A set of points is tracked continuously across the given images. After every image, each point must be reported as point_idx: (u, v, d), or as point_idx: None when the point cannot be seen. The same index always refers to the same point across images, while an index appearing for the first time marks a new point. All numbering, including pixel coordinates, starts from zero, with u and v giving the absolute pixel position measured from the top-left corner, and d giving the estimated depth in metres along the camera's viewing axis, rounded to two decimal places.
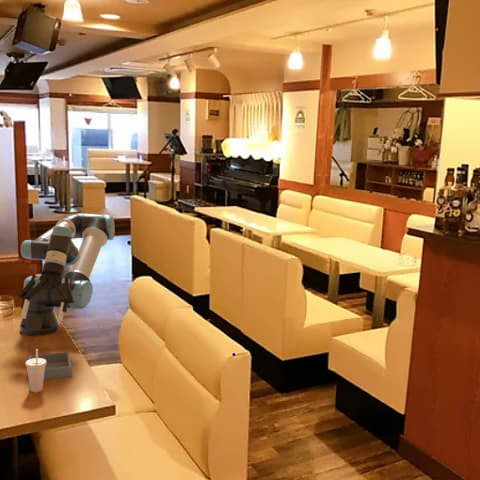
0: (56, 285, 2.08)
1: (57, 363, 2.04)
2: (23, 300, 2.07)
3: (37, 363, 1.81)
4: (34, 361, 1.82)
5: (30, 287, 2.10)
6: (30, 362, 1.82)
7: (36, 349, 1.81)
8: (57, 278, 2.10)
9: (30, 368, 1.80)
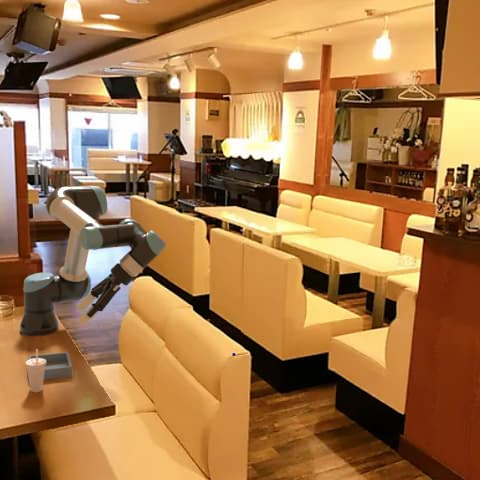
0: None
1: (57, 363, 2.04)
2: None
3: (37, 363, 1.81)
4: (34, 361, 1.82)
5: None
6: (30, 362, 1.82)
7: (36, 349, 1.81)
8: None
9: (30, 368, 1.80)
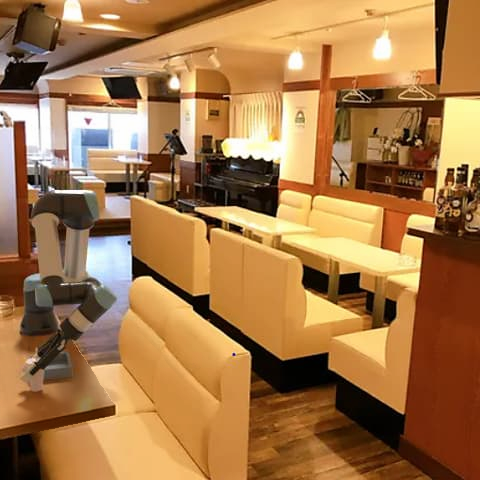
0: None
1: (57, 363, 2.04)
2: None
3: None
4: (34, 360, 1.83)
5: None
6: (30, 361, 1.82)
7: (36, 348, 1.82)
8: None
9: None
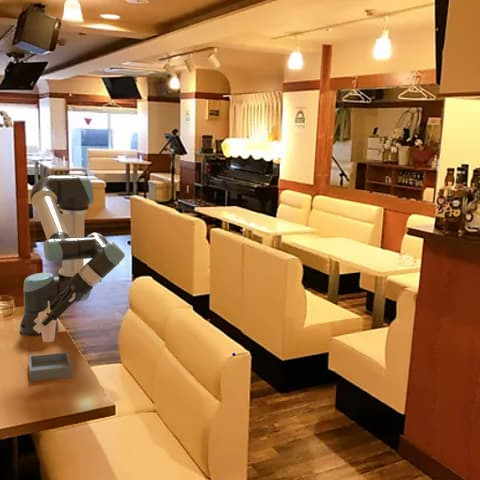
0: None
1: (57, 363, 2.04)
2: (51, 320, 1.89)
3: None
4: (46, 312, 1.93)
5: None
6: (42, 313, 1.92)
7: None
8: None
9: (42, 318, 1.90)
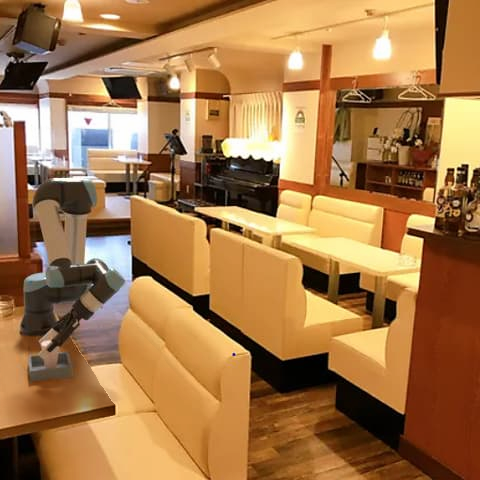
0: None
1: (57, 363, 2.04)
2: None
3: None
4: None
5: None
6: (45, 343, 1.96)
7: (51, 331, 1.95)
8: None
9: None
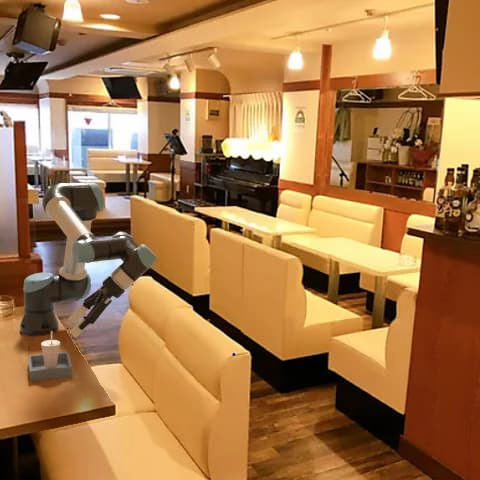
0: None
1: (57, 363, 2.04)
2: None
3: (52, 344, 1.95)
4: (49, 342, 1.96)
5: None
6: (45, 343, 1.96)
7: (51, 331, 1.96)
8: None
9: (45, 348, 1.94)
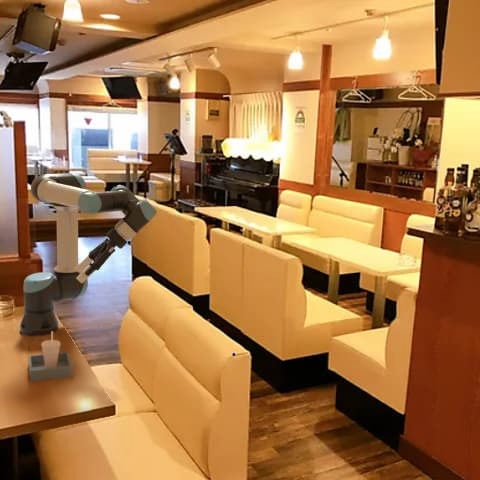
0: None
1: (57, 363, 2.04)
2: (93, 270, 1.97)
3: (52, 344, 1.95)
4: (49, 342, 1.96)
5: None
6: (45, 343, 1.96)
7: (51, 331, 1.95)
8: None
9: (46, 349, 1.94)
